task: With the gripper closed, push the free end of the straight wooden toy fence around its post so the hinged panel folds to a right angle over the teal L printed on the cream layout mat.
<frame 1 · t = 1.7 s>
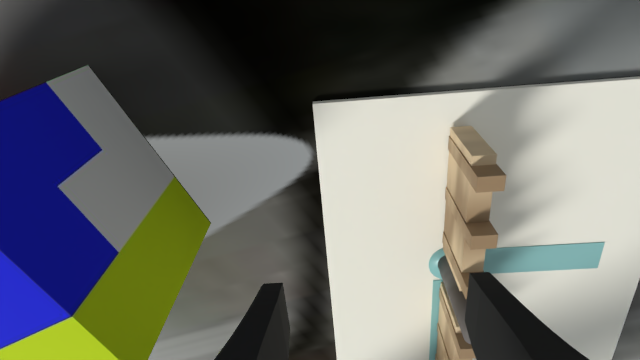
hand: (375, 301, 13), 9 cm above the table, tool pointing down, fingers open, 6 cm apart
fence panel: (468, 214, 20), point 3 cm above the table, hinge at 0.0°
puzzle toy: (85, 188, 23), on the table
layout mat: (482, 256, 24), on the table
fence fixed panel: (449, 263, 24), resting on layout mat
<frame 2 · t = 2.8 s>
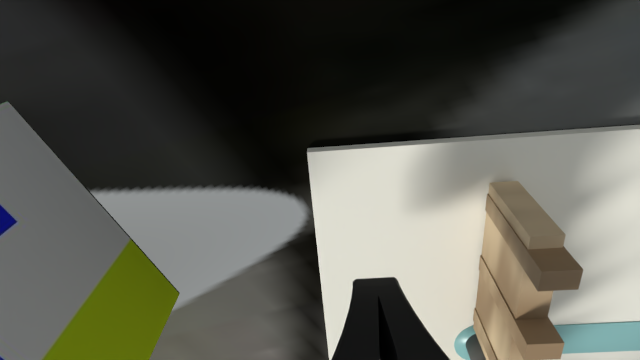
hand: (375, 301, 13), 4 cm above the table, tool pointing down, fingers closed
fence panel: (515, 300, 15), point 3 cm above the table, hinge at 0.0°
puzzle toy: (19, 251, 18), on the table
layout mat: (521, 333, 19), on the table
fence fixed panel: (480, 342, 19), resting on layout mat
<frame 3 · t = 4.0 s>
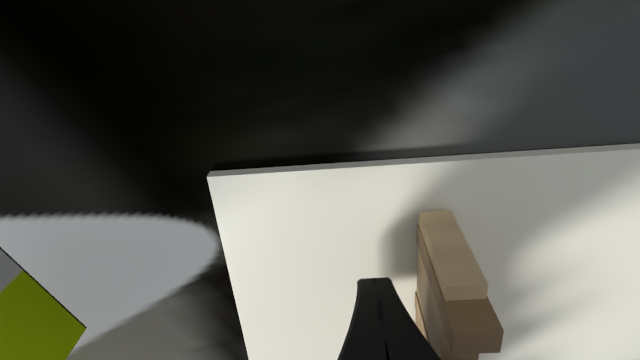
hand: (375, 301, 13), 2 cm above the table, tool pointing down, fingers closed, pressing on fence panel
fence panel: (446, 349, 13), point 3 cm above the table, hinge at 0.0°, touching gripper
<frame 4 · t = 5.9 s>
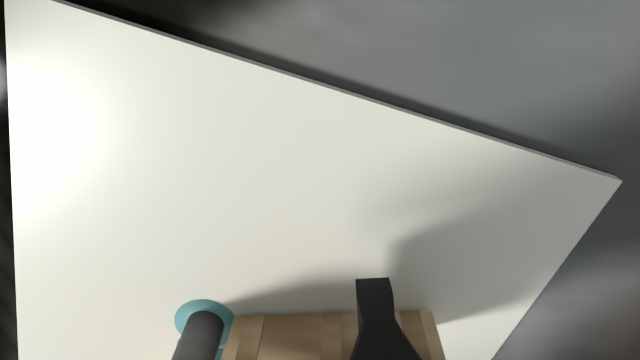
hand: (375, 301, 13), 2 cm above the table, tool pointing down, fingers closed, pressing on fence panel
layout mat: (259, 327, 16), on the table
fence fixed panel: (206, 323, 16), resting on layout mat
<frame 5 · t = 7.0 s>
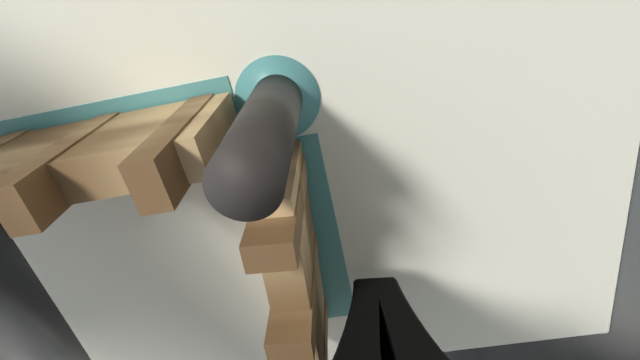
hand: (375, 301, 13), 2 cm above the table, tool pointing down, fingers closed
fence panel: (296, 289, 12), point 3 cm above the table, hinge at 94.5°, touching gripper
layout mat: (294, 157, 13), on the table
fence fixed panel: (277, 99, 12), resting on layout mat
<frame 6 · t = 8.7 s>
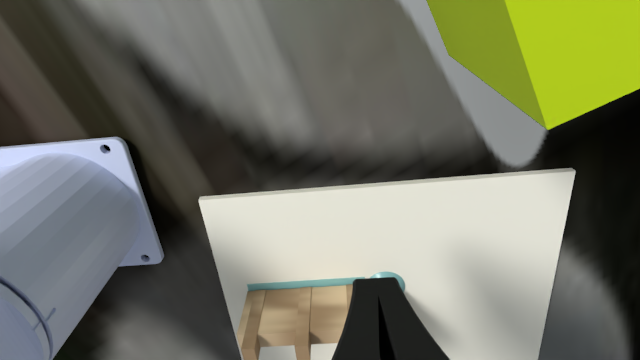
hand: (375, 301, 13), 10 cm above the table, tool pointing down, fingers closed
layout mat: (385, 306, 27), on the table
fence fixed panel: (385, 286, 25), resting on layout mat
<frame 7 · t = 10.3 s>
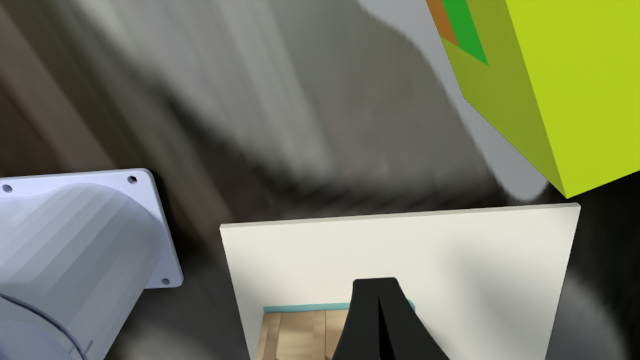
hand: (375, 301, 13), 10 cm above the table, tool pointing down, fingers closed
layout mat: (395, 328, 28), on the table
fence fixed panel: (396, 310, 26), resting on layout mat
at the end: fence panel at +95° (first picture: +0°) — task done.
